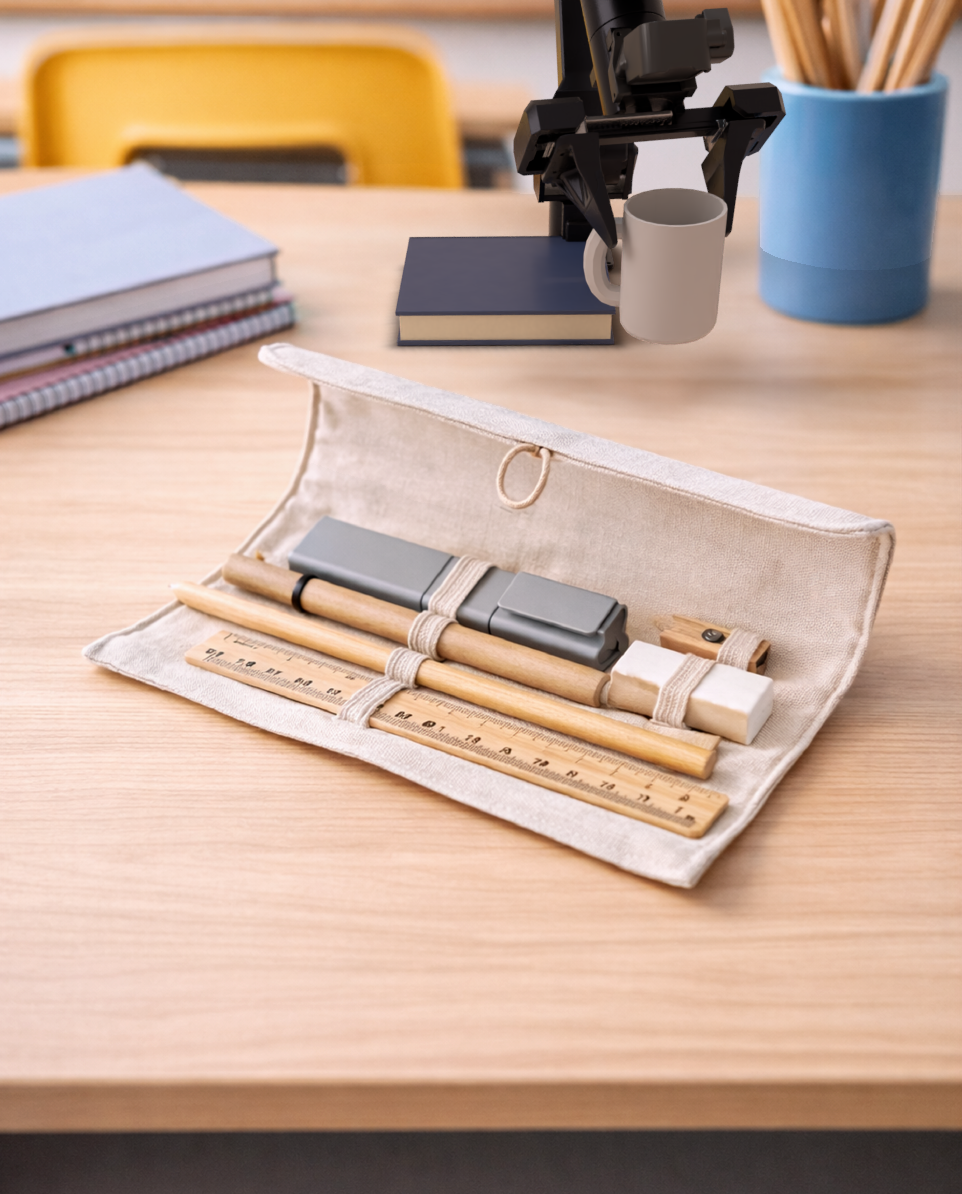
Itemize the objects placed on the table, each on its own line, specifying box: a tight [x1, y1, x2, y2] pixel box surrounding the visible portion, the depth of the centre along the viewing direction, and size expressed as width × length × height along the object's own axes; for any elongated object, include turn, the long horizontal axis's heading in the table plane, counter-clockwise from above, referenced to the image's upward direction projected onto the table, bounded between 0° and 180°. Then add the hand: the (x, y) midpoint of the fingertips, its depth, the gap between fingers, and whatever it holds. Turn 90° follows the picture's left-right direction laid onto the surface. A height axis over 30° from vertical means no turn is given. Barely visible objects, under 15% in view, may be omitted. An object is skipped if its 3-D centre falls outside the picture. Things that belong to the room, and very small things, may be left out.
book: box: [394, 235, 617, 347], centre depth 105 cm, size 18×18×3 cm
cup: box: [584, 187, 727, 346], centre depth 86 cm, size 7×10×9 cm
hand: (670, 240), depth 84 cm, fingers closed on cup, 8 cm apart
